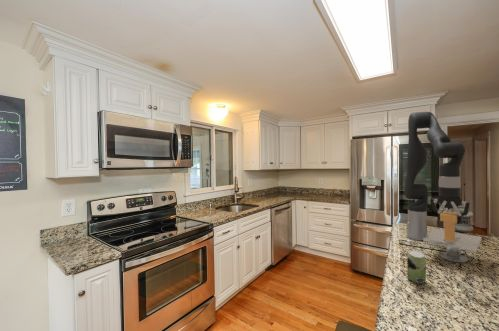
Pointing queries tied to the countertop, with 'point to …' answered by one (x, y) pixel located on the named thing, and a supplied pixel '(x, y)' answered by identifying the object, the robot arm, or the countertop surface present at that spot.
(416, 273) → the beverage can
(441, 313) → the countertop surface
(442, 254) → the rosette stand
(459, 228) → the apothecary jar
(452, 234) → the orange block
